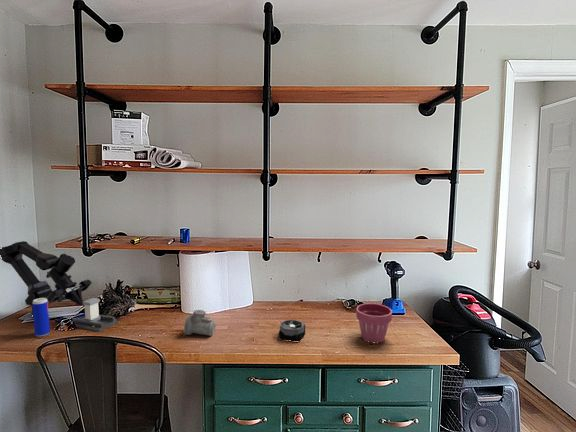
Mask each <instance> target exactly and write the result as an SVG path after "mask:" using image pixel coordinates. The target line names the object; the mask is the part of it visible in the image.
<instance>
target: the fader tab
mask: <svg viewBox="0 0 576 432" xmlns="http://www.w3.org/2000/svg"><path fill="white" fill-rule="evenodd" d="M100 300H101V299H100V298H95V297H92V298H89V299H86V300H84V301H83V304H82V305H84V317H85V318H84V319H85V320H91V321H98V320H100V319H101V316H99V315H100V312H99V311H100V310H99V303H100Z"/></svg>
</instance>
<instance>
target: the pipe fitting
mask: <svg viewBox="0 0 576 432" xmlns="http://www.w3.org/2000/svg"><path fill="white" fill-rule="evenodd" d="M215 330H216V322H215V321H213V319H212V317H208V316H206V311H205V310H203V309H195V310H194V309H193V313H192V314H189V315H187V317H186V319H185V322H184V327H183V332H184V334H185V335H188V336H190V335H192V334H198V335H203V336H208V337H211V336H212V335H214V333H215Z"/></svg>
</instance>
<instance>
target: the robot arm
mask: <svg viewBox="0 0 576 432" xmlns="http://www.w3.org/2000/svg"><path fill="white" fill-rule="evenodd" d="M1 247H2V249H0V255H1V257H2V259H1V261H2V262H4V263H6V264H8V265H10V266H12V268H13V270H14V271H15V272H16V273H17V275H18V277H20V279H21V280H22V281H23V282H24V284H25V285H26V287H27V295H28V296H27V297H26V299H25V300H24V302H25V304H26V305H28V306H31V313H30V315H31V314H32V315H33V305H32V303H33V300H35V299H38V298H47V300H48V304H52V303H54V302H58V303H60V302H62V301H66V300H69V301H71V302H73V303H75V304H77V305H79V306H82V305H83V302H84V301H83V296H82V294H83V293H82V292H85V291H87V290H88V289H89V288H90V286H91V285H92V283H93V281H91V280H90V279H85V280H81V281H80V282H79V283H77V282H76V281H73V280H72V279H71V278H72V275H71V274H70V275H69V274H68V273H67V272H69V271H70V269H72V267H73V266H74V265H75V263H76V260H75V257H73V256H71V255H68V254H66V253H61V254H60V255H59V257H58V256H57V255H54V254H51V253H46V252H42V251H41V250H39V249H37V248H36V247H34V246H32V245H31V244H30V243H28V242H27V241H24V240H23V241H18V242H14V243H12V244H10V245H8V246H1ZM23 256H25V257H27V258H29V259H30V260H32V261H34V262H35V265H36V267H37V268H39V270H41V271H47V270H49V271H47V272H46V276H45V278H46V279H49V278H51V279H52V281H53V282H54V283H55V284H54V288H55V290H52V288H51V286H50V285H49V283H48V282H47V280H42V281H40V280H39V279H38V277H37V276H36V275H35V273H34V272H33V270H32V269H31V268H30V266H29V265H28V264H27V262H25V259H23ZM77 284H78V285H77Z"/></svg>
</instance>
